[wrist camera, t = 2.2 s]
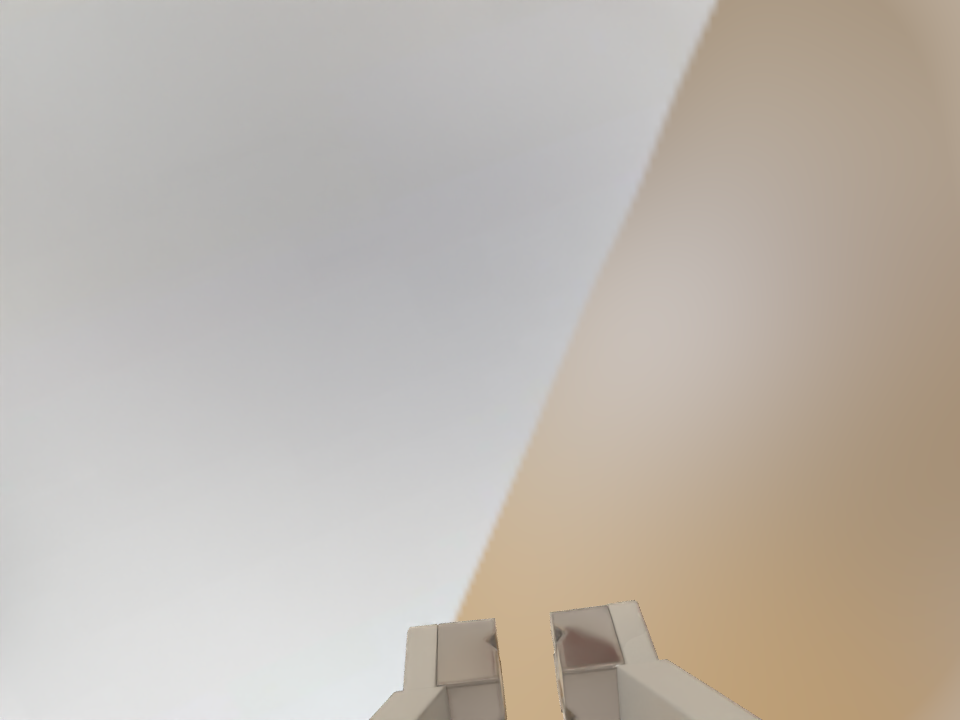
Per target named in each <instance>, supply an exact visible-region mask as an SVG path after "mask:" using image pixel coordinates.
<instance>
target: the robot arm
mask: <svg viewBox="0 0 960 720" xmlns="http://www.w3.org/2000/svg"><path fill="white" fill-rule="evenodd" d="M550 623H551V633H552V639H553V645H554V650H555V653H554V662H555V670H556V679H557V688H558V694H559V700H560V706H561V711H562V713H563V715H564V720H762V719H760V718H758V717H757V716H755V715H754V714H752V713H751V712H749V711H747V710H746V709H744V708H743V707H741V706H740V705H738V704H736V703H735V702H733V701H732V700H730V699H729V698H727V697H725V696H724V695H722V694H721V693H719V692H718V691H716V690H714V689H713V688H711V687H710V686H708V685H707V684H705V683H704V682H702V681H700V680H699V679H697V678H696V677H694V676H693V675H691V674H690V673H688V672H686V671H685V670H683V669H682V668H680V667H679V666H677V665H675V664H674V663H672V662H671V661H669V660H667V659H665V660H659V659H658V656H657V653H656V650H655V648H654V645H653V642H652V640H651V637H650V634H649V632H648V629H647V626H646V624H645V621H644V618H643V615H642V613H641V610H640V607H639V605H638V603H637V602H636V601H635V600H631V601H625V602H618V603H611V604H607V605H604V606H596V607H589V608H581V609H573V610H565V611H557V612H550ZM369 720H507V715H506V705H505V695H504V686H503V677H502V669H501V661H500V656H499V646H498V637H497V630H496V624H495V618H493V619H484V620H472V621H462V622H452V623H441V624H439V625H437V624H432V625H424V626H415V627H410V628H409V630H408V632H407V643H406V657H405V671H404V685H403V691H396V692H394V693H393V694H392V695H391V697H390V698H389V699H388V700H387V701H386V702H385V703H384V704H383V705H382V706H381V707H380V708H379V709H378V711H377V712H376V713H375V714H374V715H373V716H372V717H371V718H370V719H369Z"/></svg>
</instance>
